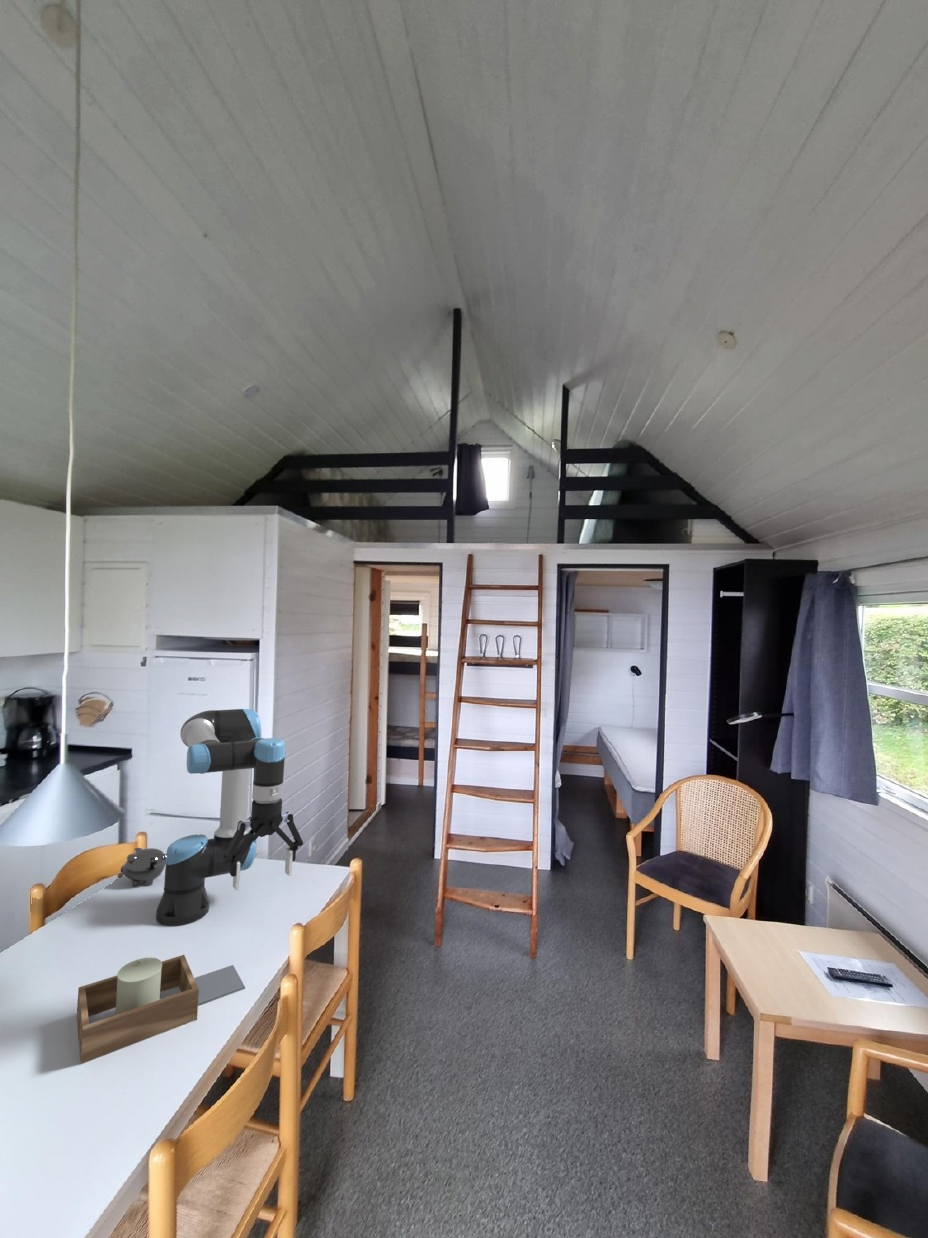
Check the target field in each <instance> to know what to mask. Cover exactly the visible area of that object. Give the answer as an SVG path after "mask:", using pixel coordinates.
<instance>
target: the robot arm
mask: <svg viewBox="0 0 928 1238" xmlns="http://www.w3.org/2000/svg"><path fill="white" fill-rule="evenodd" d="M180 739H181V741H182V743H183V744H184V746H186V747H187V752H186V770H187V773H189V774H191V775H192V774H201V775H203V774H207V773H208V774H209V773H217V772H222V773H221V789H220V791H221V793H220V809H219V810H220V811H219V813H220V814H219V826H218V828H217V829H215V831H214V833H213V838H210V839H209V838H208V837H207V835H205V834H201V833H200V834H197V833H196V834H190V835H187V836H183V837H181V838H177V840H175V841H173V842H172V843H170V844H169V846H168V847H167V849H166V853H165V854H166V859H165V868H164V870H165V872H164V884H163V886H164V887H163V893H162V895H161V899H160V901H159V903H158V906H157V908H156V912H155V920H156V922H157V923H158V924H161V925H163V926H169V927H171V926H172V927H173V926H174V927H175V926H177V927H178V926H182V925H183V926H184V925H188V924H191V923H194V922H197V921H198V920H200V919H202V918H203V917H205V916H206V915H207V914H208V912H209V911H210V898H209V896H208V893H207V889H206V886H205V883H206V881H205V880H206V879H207V878H212V877H217V876H221V875H230V876H231V878H232V887H233V889H234V890H235V891H238V890H240V879H241V872H242V871H246V870H248V869H250V868H251V867H252V866H253V863H254V861H255V857H256V854H257V853H256V852H257V839H258V838H259V837H260V838H263V837H266V836H272V835H273V834H274V833H276V834H277V835H278V836H279V837H280V838H281V839H282V841H283V842H285V844H287V845H288V847H286V849H285V861H284V862H285V864H284V873H285V874H286V875H287V876H288V877H291V876H292V875H293V873H292V872H293V871H292V869H293V862H295V860H296V858H297V857H296V854H297V851H298V849H299V847H302V846H303V845H304V841H303V839H302V838H301V835H300V832H299V831H298V828H297V827H296V824H295V822H294V815H293V814H292V813H291V812H289V811H286V812H285V813H284V814H282V811H283V799H282V798H283V795H284V794H283V793H284V792H283V791H284V773H285V759H286V742H285V741H284V740H283V739H280V738H277V737H268V738H267V737H265V738H264V737H262V725H261V720H260V716H259V714H258V712H257V711H256V710H255V709H252V708H250V709H249V708H234V709H232V708H231V709H214V710H213V709H212V710H204V711H201V712H199V713H196V714H195V715H192V716H191V717H189V718H188V719H187V720H185V722H184V723H183V724H182V726H181V729H180ZM250 769H253V781H252V791H251V792H252V794H251V798H252V801H251V813H250V814H251V815H250V816H251V817H250V820H249V821H248V809H249V790H250V789H249V788H250V787H249V785H250ZM283 821H284V822H285V823H286V825H287V827H288V829H289V831H290V834H291V836H292V838H293V839H294V841H292V840H291V838H290V837H289V836H288V835H287V834H286V833H285V832H284V831H283V829H282V828H280V826H281V824H282V822H283Z"/></svg>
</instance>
